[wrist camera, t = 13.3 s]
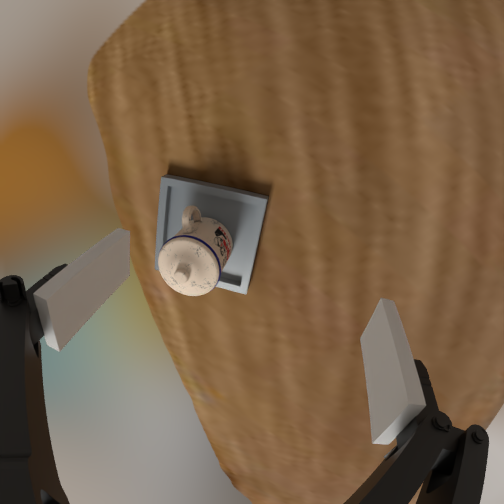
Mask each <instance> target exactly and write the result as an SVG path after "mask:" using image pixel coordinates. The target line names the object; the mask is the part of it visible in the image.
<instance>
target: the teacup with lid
mask: <svg viewBox="0 0 504 504" xmlns="http://www.w3.org/2000/svg"><path fill="white" fill-rule="evenodd" d="M191 215H192V216H193V220H191ZM182 227H183V228H182V229H181V230H180V231H179V232H178V233H177V234H176V235H175V236H174V237H172V238H170V239H169V240H167V241H166V242H165V243H164V244H163V246H162V248H161V249H160V252H159V257H158V266H159V270H160V273H161V275H162V277H163V279H164V280H165V282H166V283H167V284H168V285H169V286H170V287H171V288H173V289H174V290H176V291H177V292H179V293H182V294H184V295H189V296H199V295H203V294H206V293H208V292H209V291H211V290H212V289H213V288H214V287H215V286H216V285H217V284H218V282H219V279H220V276H221V272H222V270H223V269H224V267H225V265H226V263H227V261H228V259H229V257H230V256H231V253H232V249H233V243H232V238H231V235H230V233H229V231H228V230H227V229H226V227H225V226H224V225H223V224H221V223H220V222H218V221H217V220H214V219H212V218H207V217H201V214H200V211H199V209H198V208H197V207H196V206H187V207H186V208H185V209H184V211H183V215H182Z"/></svg>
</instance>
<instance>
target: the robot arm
mask: <svg viewBox="0 0 504 504" xmlns="http://www.w3.org/2000/svg"><path fill="white" fill-rule="evenodd" d="M129 260H130V231H127V230H124V229H120V228H117V229H116V230H114V231H113V232H112V233H110V234H109V235H107V236H106V237H105V238H103V239H102V240H101V241H99V242H98V243H96V244H95V245H94V246H92V247H91V248H90V249H88V250H87V251H86V252H84V253H83V254H82V255H80V256H79V257H78V258H77V259H75V260H74V261H73V262H71V263H70V264H69V265H67V264H63V265H61V266H58V267H56V268H54V269H53V270H52V271H51V272H49V274H47V275H45V276H44V277H43V279H41V280H39V281H38V282H37V283H35V284H34V285H33V286H32V287H31V288H30V289H28V290H27V291H25V286H24V282H23V279H22V278H21V277H19V276H16V275H10V276H6V277H4V278H2V279H1V280H0V504H69V501H68V498H67V496H66V494H65V492H64V490H63V489H62V486H61V484H60V481H59V477H58V473H57V469H56V464H55V460H54V455H53V450H52V445H51V440H50V435H49V428H48V423H47V416H46V407H45V399H44V389H43V377H42V362H41V361H42V360H41V344H40V341H39V340H40V339H41V338H42V337H43V336H45V340H46V343H47V345H48V346H50V347H52V348H54V349H56V350H58V351H59V352H60V351H61V350H62V349H63V347H64V346H65V345H66V344H67V343H68V342H69V341H70V340H71V338H72V337H73V336H74V335H75V334H76V333H77V332H78V331H79V329H80V328H81V327H82V326H83V325H84V324H85V323H86V322H87V321H88V319H89V318H90V317H91V316H92V315H93V314H94V313H95V312H96V311H97V310H98V308H99V307H100V306H101V305H102V304H103V303H104V302H105V301H106V300H107V299H108V298H109V297H110V295H112V293H113V292H114V291H115V290H116V289H117V288H118V287H119V286H120V285H121V284H122V283H123V282H124V281H125V280H126V279H127V278H128V277H129V276H130V272H129V271H130V264H129V263H130V261H129ZM360 340H361V347H362V354H363V361H364V368H365V376H366V384H367V392H368V401H369V411H370V421H371V433H372V443H373V444H389V443H391V442H392V441H393V440H394V439H395V438H396V439H397V445H396V446H395V447H394V448H393V449H392V450H391V451H390V452H389V453H388V454H386V455H385V456H384V458H385V459H384V460H383V462H382V463H381V464H380V465H379V466H378V467H377V469H376V470H375V471H374V472H373V473H372V474H371V475H370V477H369V478H368V479H367V480H366V481H365V482H364V483H363V484H362V485H361V486H360V487H359V489H358V490H357V491H356V492H355V493H354V494H353V495H352V496H351V497H350V498H349V499H348V500H347V501H346V502H345V503H344V504H408V503H409V502H410V501H411V499H412V498H413V496H414V495H415V493H416V492H417V490H418V489H419V487H420V486H421V484H422V483H423V485H422V488H421V491H420V494H419V497H418V499H417V502H416V504H480V500H481V495H482V490H483V484H484V478H485V471H486V464H487V457H488V447H489V437H488V434H487V432H486V431H485V430H484V428H482V427H481V426H479V425H476V424H475V425H471V426H470V427H469V428H468V429H467V430H466V431H464V430H461V429H458V428H456V427H453V426H452V422H451V420H450V419H449V417H448V416H447V415H446V414H445V413H443V412H441V411H439V409H438V406H437V402H436V398H435V395H434V392H433V388H432V387H431V382H430V380H429V375H428V372H427V369H426V367H425V366H424V365H423V363H422V362H421V361H420V360H415V359H413V356H412V353H411V350H410V346H409V343H408V340H407V337H406V334H405V331H404V328H403V325H402V322H401V319H400V316H399V314H398V311H397V308H396V305H395V302H394V301H392V300H388V299H384V298H381V299H380V301H379V303H378V305H377V307H376V309H375V311H374V313H373V315H372V317H371V319H370V321H369V323H368V325H367V327H366V329H365V330H364V332H363V334H362V336H361V338H360ZM423 481H424V482H423Z"/></svg>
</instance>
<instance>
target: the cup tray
mask: <svg viewBox="0 0 504 504" xmlns="http://www.w3.org/2000/svg"><path fill="white" fill-rule="evenodd" d="M268 198H269V196H266V195H262V194H258V193H253V192H249V191H245V190H240V189H236V188H231V187H227V186H222V185H218V184H213V183H208V182H203V181H198V180H194V179H189V178H184V177H178V176H173V175H168V174H166V175H164V176H162V177H161V186H160V196H159V208H158V221H157V236H156V254H155V269H156V270H159V266H158V257H159V252H160V249H161V248H162V246H163V244H164V243H165V242H166V241H167V240H169V239H170V238H172V237H174V236H175V235H176V234H177V233H178V232H179V231H180V230H181V229H182V228H183V227H182V215H183V211H184V209H185V208H186V207H187V206H196V207H197V208H198V209H199V211H200V214H201V217H207V218H212V219H214V220H217V221H218V222H220V223H221V224H223V225H224V226H225V227H226V229H227V230H228V231H229V233H230V235H231V238H232V243H233V249H232V253H231V256H230V257H229V259H228V261H227V263H226V265H225V267H224V269H223V270H222V272H221V276H220V279H219V282H218V284H217V285H216V287H220V288H223V289H227V290H231V291H235V292H239V293H242V294H247V291H248V288H249V283H250V279H251V274H252V270H253V265H254V261H255V256H256V252H257V247H258V243H259V238H260V234H261V229H262V225H263V220H264V216H265V211H266V207H267V202H268ZM191 220H193V216H192V215H191ZM159 271H160V270H159Z"/></svg>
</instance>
